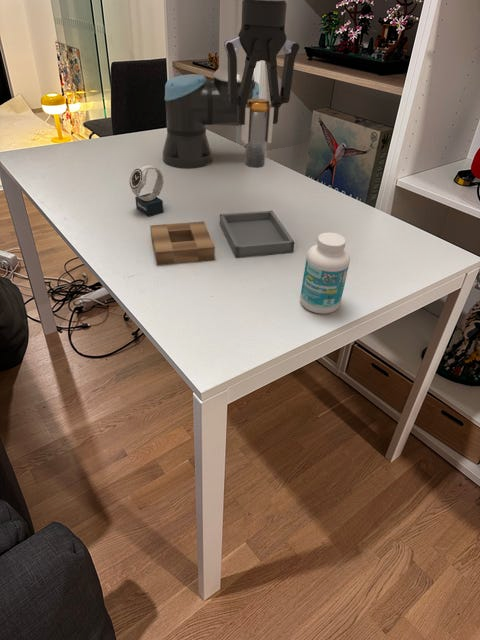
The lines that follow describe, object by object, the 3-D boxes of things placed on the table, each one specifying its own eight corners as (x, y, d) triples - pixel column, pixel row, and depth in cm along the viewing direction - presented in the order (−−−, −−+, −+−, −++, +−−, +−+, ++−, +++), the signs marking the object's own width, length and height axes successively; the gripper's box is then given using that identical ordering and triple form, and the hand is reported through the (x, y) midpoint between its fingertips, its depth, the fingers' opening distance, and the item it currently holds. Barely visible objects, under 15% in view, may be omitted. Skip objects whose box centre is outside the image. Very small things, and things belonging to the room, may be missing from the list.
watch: (129, 210, 114) (124, 166, 107) (157, 203, 118) (154, 160, 111) (141, 219, 110) (136, 174, 104) (169, 210, 115) (167, 166, 108)
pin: (247, 168, 93) (250, 103, 85) (243, 161, 96) (245, 98, 88) (266, 167, 93) (271, 103, 86) (261, 160, 96) (266, 98, 89)
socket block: (151, 237, 103) (150, 225, 101) (204, 233, 106) (203, 221, 104) (156, 265, 94) (155, 252, 92) (214, 259, 97) (214, 247, 95)
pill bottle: (295, 309, 84) (304, 243, 76) (305, 288, 90) (314, 225, 81) (335, 319, 82) (349, 253, 74) (343, 297, 88) (357, 233, 79)
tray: (219, 224, 110) (219, 214, 108) (271, 220, 113) (272, 210, 111) (235, 257, 98) (235, 247, 96) (293, 252, 100) (294, 242, 99)
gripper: (218, -3, 73) (217, 148, 87) (320, 1, 76) (303, 145, 90) (210, -6, 78) (210, 136, 93) (305, -3, 82) (291, 134, 96)
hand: (256, 140), depth 92 cm, fingers closed on pin, 4 cm apart
